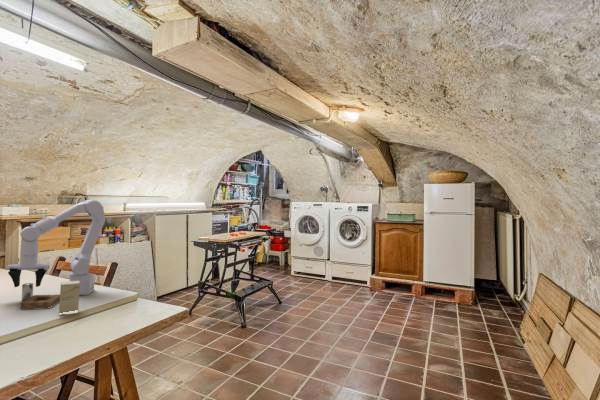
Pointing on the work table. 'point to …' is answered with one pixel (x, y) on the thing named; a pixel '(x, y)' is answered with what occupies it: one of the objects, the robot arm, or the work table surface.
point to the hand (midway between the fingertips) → (27, 286)
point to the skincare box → (69, 296)
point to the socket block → (40, 301)
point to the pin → (27, 291)
